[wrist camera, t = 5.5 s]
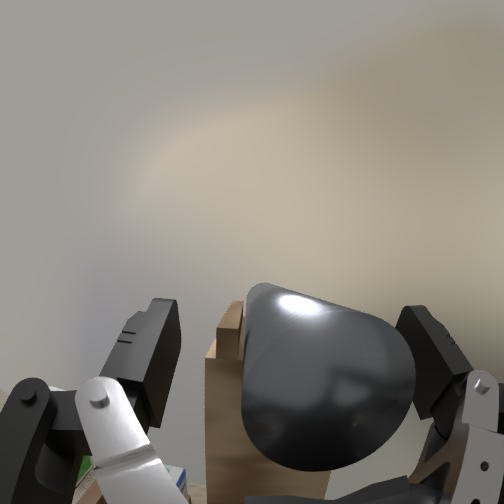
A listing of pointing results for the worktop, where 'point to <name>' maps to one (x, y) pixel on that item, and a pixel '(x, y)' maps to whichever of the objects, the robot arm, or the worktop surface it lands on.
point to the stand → (241, 430)
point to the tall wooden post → (95, 500)
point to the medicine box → (178, 477)
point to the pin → (320, 380)
